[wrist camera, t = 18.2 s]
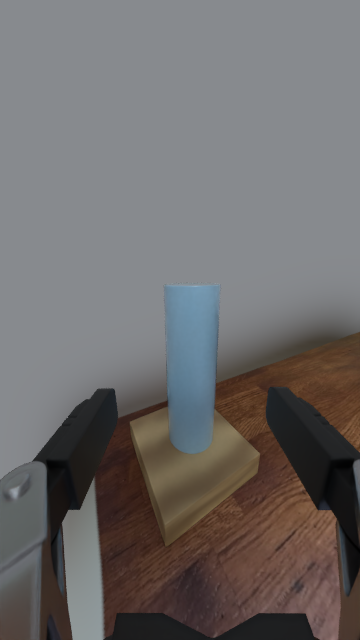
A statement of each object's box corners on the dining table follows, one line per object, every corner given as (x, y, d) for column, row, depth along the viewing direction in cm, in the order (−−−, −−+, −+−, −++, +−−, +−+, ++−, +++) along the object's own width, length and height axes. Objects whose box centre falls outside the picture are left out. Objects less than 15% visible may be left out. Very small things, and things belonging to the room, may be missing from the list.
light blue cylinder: (204, 463, 19) (211, 286, 14) (160, 441, 21) (152, 285, 17) (218, 423, 24) (226, 283, 19) (180, 409, 26) (179, 282, 22)
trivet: (257, 473, 21) (260, 453, 20) (165, 548, 15) (164, 525, 14) (199, 408, 31) (199, 393, 30) (131, 438, 25) (129, 421, 24)
